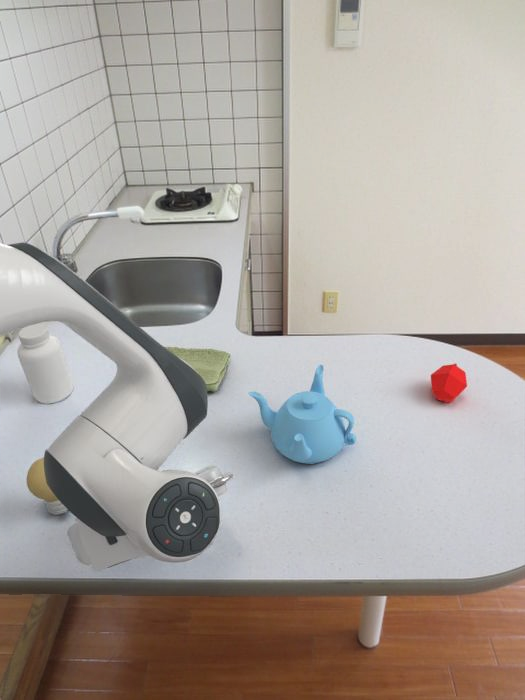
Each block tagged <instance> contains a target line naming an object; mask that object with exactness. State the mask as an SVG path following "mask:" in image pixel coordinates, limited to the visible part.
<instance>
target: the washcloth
mask: <svg viewBox="0 0 525 700" xmlns="http://www.w3.org/2000/svg"><path fill="white" fill-rule="evenodd" d="M164 347H165V348H166V349H167V350H169V351H170V352H172V353H173V354H174V355H176V356H177V357H179V358H181V359H182V360H184V361H185V362H186V363H188V364H189V365H190V366H191V367H192V368H194V369H195V370H196V371H197V373H198V374H199V375H200V376H201V377H202V378H203V380H204V381H205V383H206V387H207V393H208V392H213V393H214V392H218V389H219V385H220V383H221V382H222V380H223V378H224V376H225V374H226V371H227V366H228V363H229V361H230V359H231V356H232V355H231V353H229V352H227V351H225V350H219V349H214V348H192V347H191V348H190V347H189V348H188V347H187V348H184V347H177V346H164Z"/></svg>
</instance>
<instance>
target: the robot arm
mask: <svg viewBox="0 0 525 700" xmlns="http://www.w3.org/2000/svg"><path fill="white" fill-rule="evenodd" d="M49 322H58V323H61V324H63V325H64V326H66V327H67V328H69V329H70V330H72V331H73V332H74V333H75V334H77V335H78V336H79V337H81V338H82V339H83V340H85V341H86V342H87V343H88V344H90V346H93V347H94V348H95V349H96V350H98V351H99V352H101V354H103V355H104V356H106V357H107V358H108V359H109V360H111V361H112V362H114V363H115V364H116V373H115V376H114V378H113V379H112V380H111V382H109V384H108V385H107V386H106V387H105V389H103V390H102V392H101V393H99V395H97V397H96V398H94V399H93V401H92V402H91V403H90V404H89V405H88V406H87V407H86V408H85V409H84V410H83V411H82V412H83V413H82V412H81V413H80V414H79V415H77V417H75V419H73V421H72V422H71V423H70V424H69V425H68V426H67V427H66V428H65V429H64V430H63V431H62V432H61V433H60V434H59V435H58V436H57V438H56V439H54V441H52V443H51V444H50V445H49V447H48V448H47V449H45V450H44V454H43V457H44V472H45V478H46V483H47V485H48V487H49V488H50V489H51V491H52V492H53V493H54V495H55V496H56V497H57V498H58V500H59V501H60V502H61V503H62V504H63V505H64V506H65V507H66V508H67V509H68V511H69V512H70V513H71V514H72V515H73V516H74V517H75V523H74V524H72V525H71V526H69V527H68V529H67V531H66V534H67V536H68V539H69V542H70V546H71V549H72V550H73V553H74V556H75V558H76V560H77V561H78V562H79V563H81V564H82V565H85V566H90V565H91V567H92V569H93V571H94V572H100V571H103V570H106V569H109V568H112V567H114V566H117V565H120V564H122V563H123V564H124V563H125V562H129V561H131V560H134V559H138V558H139V559H140V558H145V557H150V558H152V559H154V560H158V561H161V562H165V563H173V564H177V563H185V562H188V561H191V560H193V559H195V558H197V557H198V556H200V555H201V554H203V553H204V552H205V551H207V550H208V549H209V547H210V546H211V545H212V544H213V542H214V541H215V540H216V537H217V535H218V533H219V532H220V531H219V530H220V528H221V523H222V519H223V518H222V515H223V512H222V505H221V500H220V496H222V495H224V494H225V493H226V492H228V487H227V485H226V484H227V482H229V481H231V480H233V479H234V474H233V473H232V472H229V471H228V472H224V473H222V472H221V470H220V468H219V466H218V465H211V466H210V465H209V466H207V467H204V468H202V469H200V470H198V471H195V472H192V471H187V470H183V469H165V470H159V469H160V467H161V466H162V465H163V464H164V462H166V460H167V459H168V458H169V457H170V456H171V454H172V453H173V452H174V451H175V449H176V448H177V447H178V446H179V444H180V443H181V442H182V441H183V440H185V439H187V437H188V436H190V434H191V433H192V432H193V431H195V429H196V428H197V427H198V426H199V425H200V424H201V423H202V422H203V421H204V420H205V419H206V418H207V415H208V406H209V405H208V404H209V403H208V402H209V399H208V391H207V387H206V383H205V381H204V380H203V378H202V377H201V376H200V375H199V374H198V373H197V371H196V370H195V369H194V368H192V367H191V366H190V365H189V364H188V363H186V362H185V361H184V360H182V359H181V358H179V357H177V356H176V355H174V354H173V353H172V352H170V351H169V350H167V349H166V348H165V347H166V346H164V345H162V344H161V343H160V342H158V341H157V340H156V339H155V338H153V336H151V335H150V334H149V333H147V332H146V330H144V329H143V328H141V326H140V325H138V324H137V323H136V322H134V320H133V319H131V318H130V317H129V316H128V315H127V314H125V312H123V311H122V310H121V309H119V307H117V306H116V305H115V304H114V303H112V302H111V301H110V300H109V299H108V298H107V297H105V296H104V295H103V294H102V293H100V292H99V291H98V290H97V289H96V288H95V287H93V286H92V285H91V284H90V283H88V282H87V281H86V280H85V279H84V278H82V277H81V276H79V275H78V274H77V273H76V272H75V271H73V270H72V268H70V267H69V266H67V265H66V264H65V263H63V262H62V261H60V260H59V259H58V258H56V257H54V256H53V255H51V254H50V253H49V252H47V251H45V250H43V249H41V248H39V247H37V246H35V245H33V244H31V243H28V242H17V243H11V244H10V243H9V244H4V243H1V242H0V337H3V336H6V335H8V334H10V333H13V332H15V331H18V330H22V329H23V328H25V327H27V326H30V325H34V324H43V323H49Z"/></svg>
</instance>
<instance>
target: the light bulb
mask: <svg viewBox="0 0 525 700" xmlns="http://www.w3.org/2000/svg"><path fill="white" fill-rule="evenodd" d="M26 487H27V488H28V490H29V492H30V493H31V494H32V495H33V496H34V497H36V498H37V499H40V500H42V501H44V504H45V506H46V508H47V511H48V512H49V513H50V514H52V515H55V516H57V515H62V514H64V513H66V512H68V511H69V510H68V509H67V508H66V507H65V506H64V505H63V504H62V503H61V502H60V501H59V500H58V498H57V497H56V496H55V495H54V493H53V492H52V491H51V489H50V488H49V487H48V485H47V483H46V478H45V472H44V456H43V457H41V458H38V459H37V460H35V461H34V462H33V463H32V464H31V465H30V467H29V468H28V471H27V473H26Z"/></svg>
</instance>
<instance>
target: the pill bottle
mask: <svg viewBox="0 0 525 700" xmlns="http://www.w3.org/2000/svg"><path fill="white" fill-rule="evenodd" d="M17 336H18V340H19V342H20V344H19V346H18V347H17V352H16V353H17V357H18V360H19V363H20V365H21V367H22V370H23V373H24V376H25V378H26V380H27V381H26V382H27V383H28V386H29V388H30V391H31V394H32V396H33V397H34V399H35V401H37V402H38V403H40V404H45V405H46V404H47V405H48V404H55V403H58V402H60V401H64V400H65V399H66V398H68V397H69V396H70V395H71V394H72V393H73V390H74V388H75V387H74V386H75V385H74V381H73V378H72V375H71V372H70V369H69V365H68V363H67V360H66V356H65V354H64V351H63V348H62V345H61V342H60V341H59V339H58V338H57V337H56V336H55V335H52V334H50V331H49V327H48V326H47V325H46V324H43V323H38V324H34V325H30V326H27V327H24V328H21V329H19V331H18V335H17Z"/></svg>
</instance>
